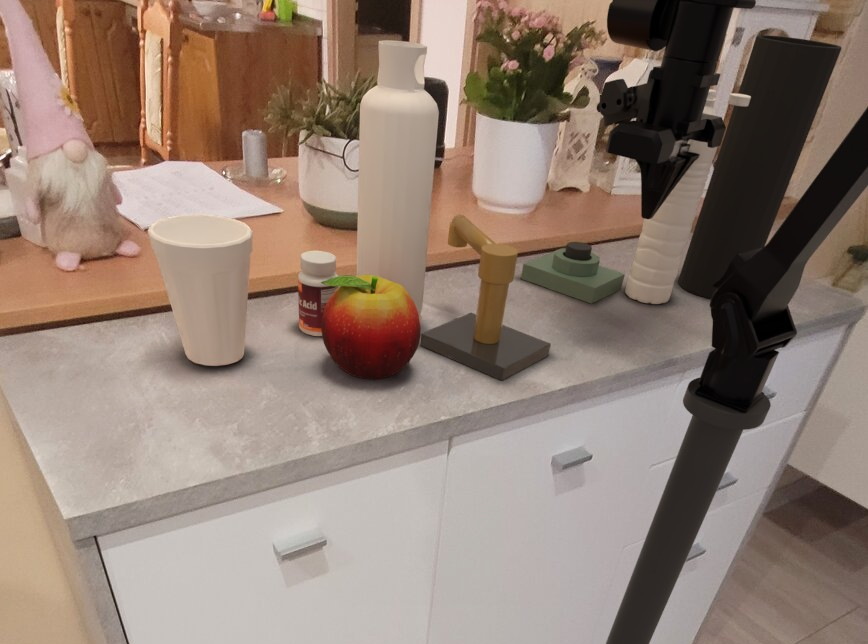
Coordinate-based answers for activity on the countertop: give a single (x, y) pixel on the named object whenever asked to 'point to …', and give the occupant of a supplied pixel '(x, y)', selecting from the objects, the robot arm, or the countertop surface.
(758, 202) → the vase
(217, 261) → the cup
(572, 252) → the dark round button
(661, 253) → the water bottle
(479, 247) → the spout
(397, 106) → the bottle
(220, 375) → the countertop surface
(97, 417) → the countertop surface
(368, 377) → the fruit
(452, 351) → the tap base
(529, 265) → the green button mount
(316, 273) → the pill bottle
